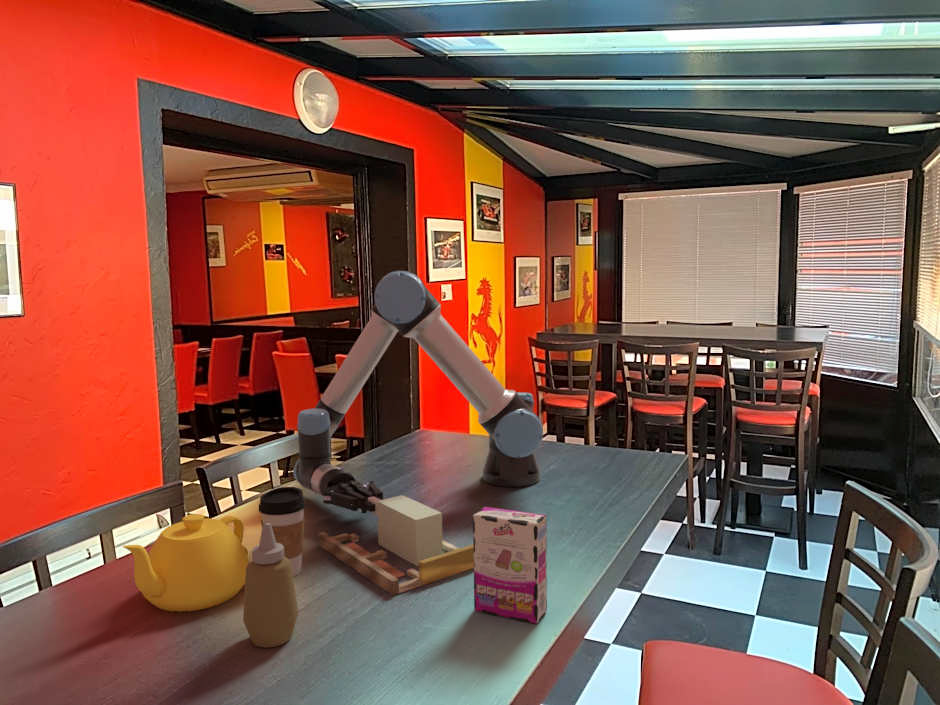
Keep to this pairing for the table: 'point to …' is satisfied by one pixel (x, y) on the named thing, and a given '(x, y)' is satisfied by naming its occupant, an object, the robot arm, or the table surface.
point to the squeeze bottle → (269, 593)
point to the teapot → (192, 564)
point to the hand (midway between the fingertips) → (386, 511)
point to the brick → (409, 529)
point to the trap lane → (388, 575)
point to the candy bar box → (510, 564)
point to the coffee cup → (285, 521)
